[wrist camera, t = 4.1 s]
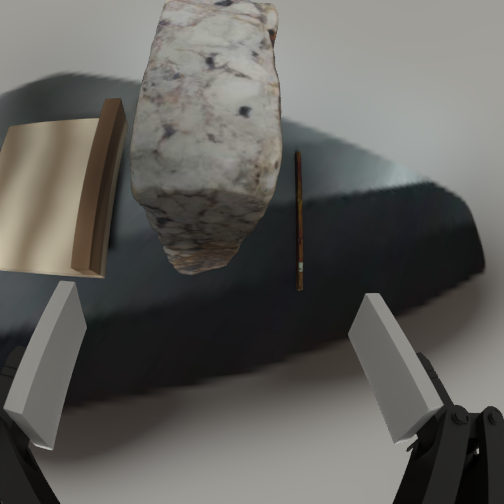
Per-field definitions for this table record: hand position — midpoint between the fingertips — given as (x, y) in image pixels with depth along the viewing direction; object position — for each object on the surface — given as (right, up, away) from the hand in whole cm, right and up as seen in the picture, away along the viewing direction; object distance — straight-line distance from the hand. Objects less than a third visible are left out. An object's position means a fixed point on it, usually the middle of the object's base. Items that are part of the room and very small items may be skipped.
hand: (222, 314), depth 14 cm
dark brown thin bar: (+6, +6, +19) cm, 21 cm away
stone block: (-4, +7, +17) cm, 19 cm away
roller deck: (-18, +7, +14) cm, 25 cm away
